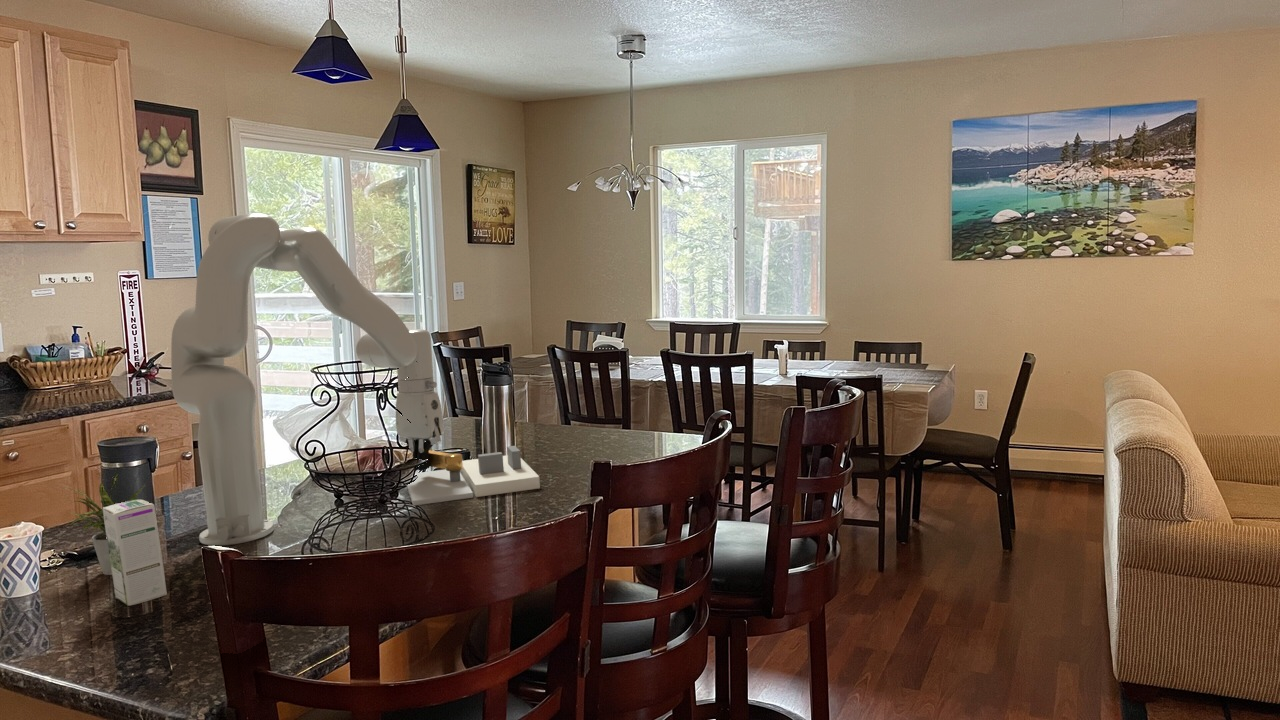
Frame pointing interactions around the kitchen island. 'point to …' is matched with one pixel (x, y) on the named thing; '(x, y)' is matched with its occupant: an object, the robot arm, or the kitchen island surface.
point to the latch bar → (445, 461)
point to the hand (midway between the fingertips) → (421, 468)
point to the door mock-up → (475, 479)
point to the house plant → (100, 526)
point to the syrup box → (134, 551)
